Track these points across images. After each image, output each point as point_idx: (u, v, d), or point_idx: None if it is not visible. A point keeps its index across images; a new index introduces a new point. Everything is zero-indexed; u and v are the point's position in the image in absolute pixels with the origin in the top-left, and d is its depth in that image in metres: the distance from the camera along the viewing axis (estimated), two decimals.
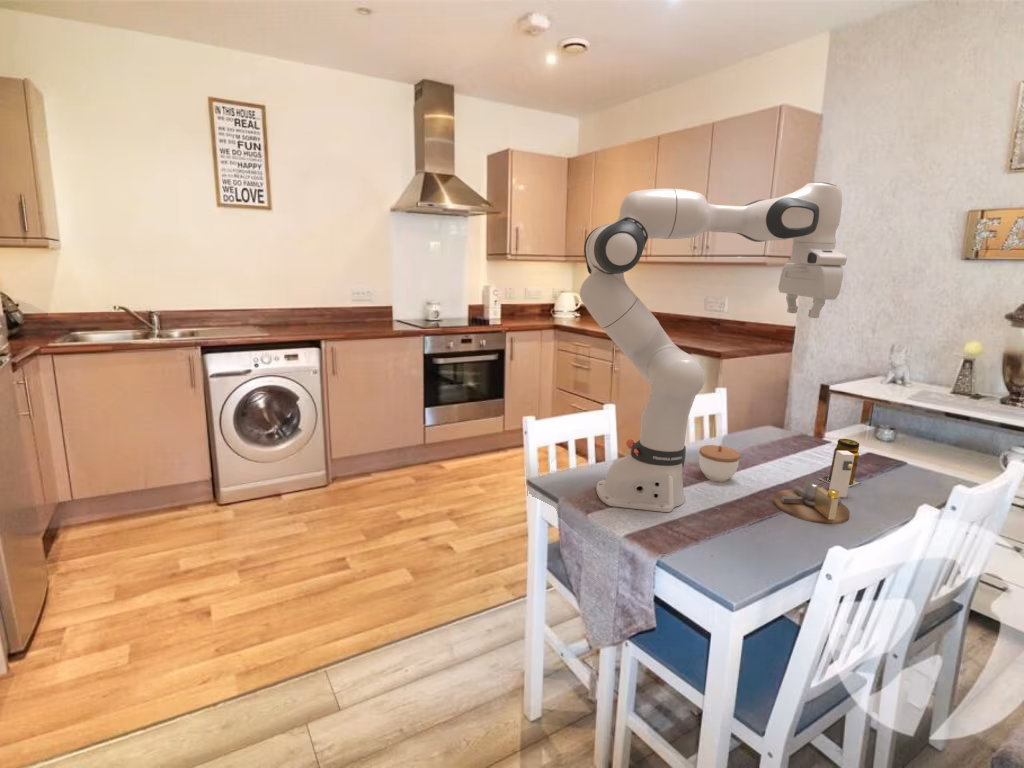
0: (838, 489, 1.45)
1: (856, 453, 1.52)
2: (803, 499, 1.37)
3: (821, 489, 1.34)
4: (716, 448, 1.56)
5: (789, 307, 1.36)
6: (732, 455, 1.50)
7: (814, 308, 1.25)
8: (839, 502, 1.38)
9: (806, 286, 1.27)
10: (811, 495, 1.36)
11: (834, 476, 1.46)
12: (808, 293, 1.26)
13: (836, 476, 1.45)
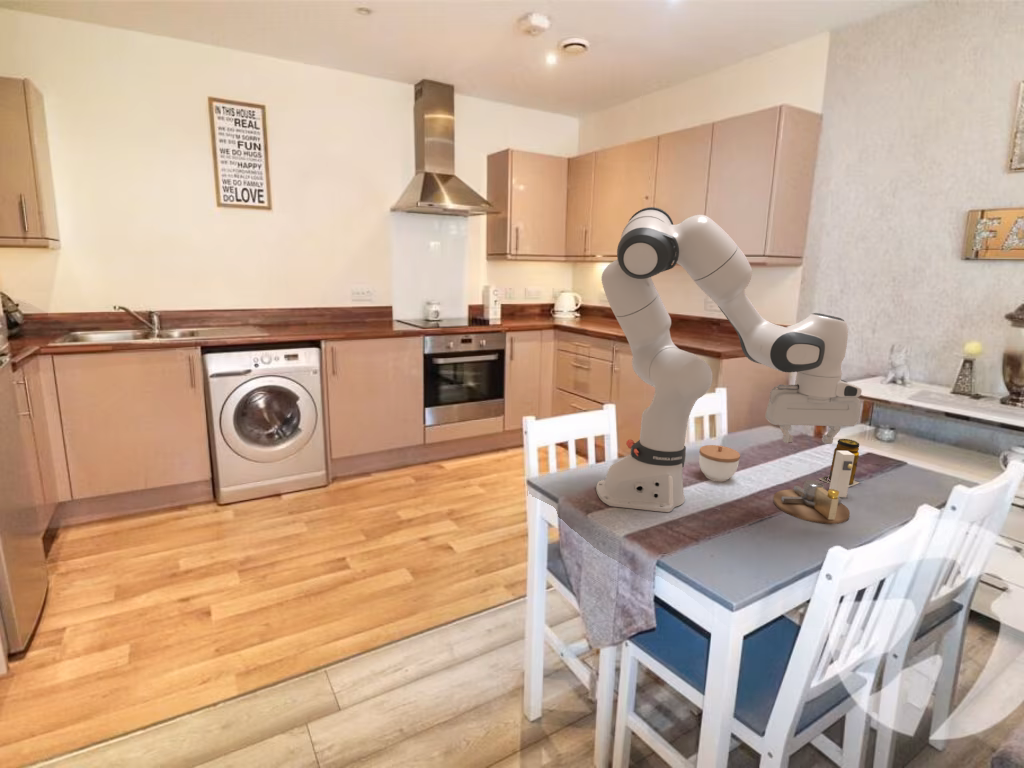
0: (838, 489, 1.45)
1: (856, 453, 1.52)
2: (803, 499, 1.37)
3: (821, 489, 1.34)
4: (716, 448, 1.56)
5: (790, 438, 1.27)
6: (732, 455, 1.50)
7: None
8: (839, 502, 1.38)
9: (828, 416, 1.25)
10: (811, 495, 1.36)
11: (834, 476, 1.46)
12: (833, 423, 1.25)
13: (836, 476, 1.45)
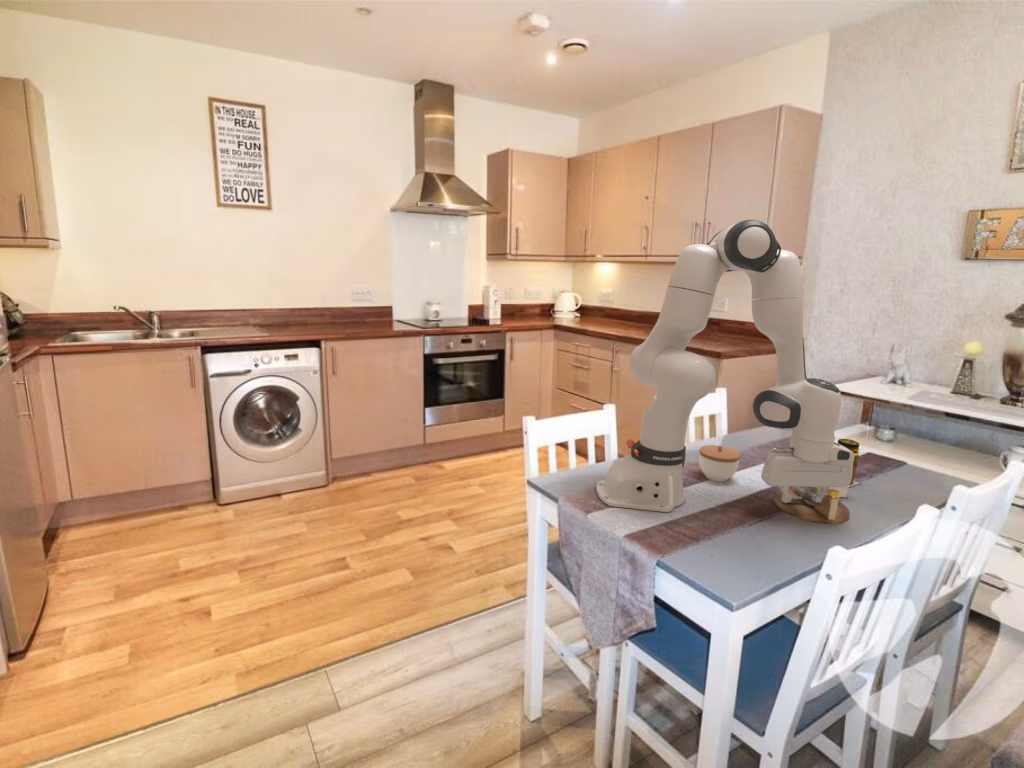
0: (838, 489, 1.45)
1: (856, 453, 1.52)
2: (803, 499, 1.37)
3: None
4: (716, 448, 1.56)
5: (789, 498, 1.31)
6: (732, 455, 1.50)
7: None
8: (839, 502, 1.38)
9: (821, 478, 1.29)
10: (811, 495, 1.36)
11: None
12: (826, 484, 1.29)
13: None
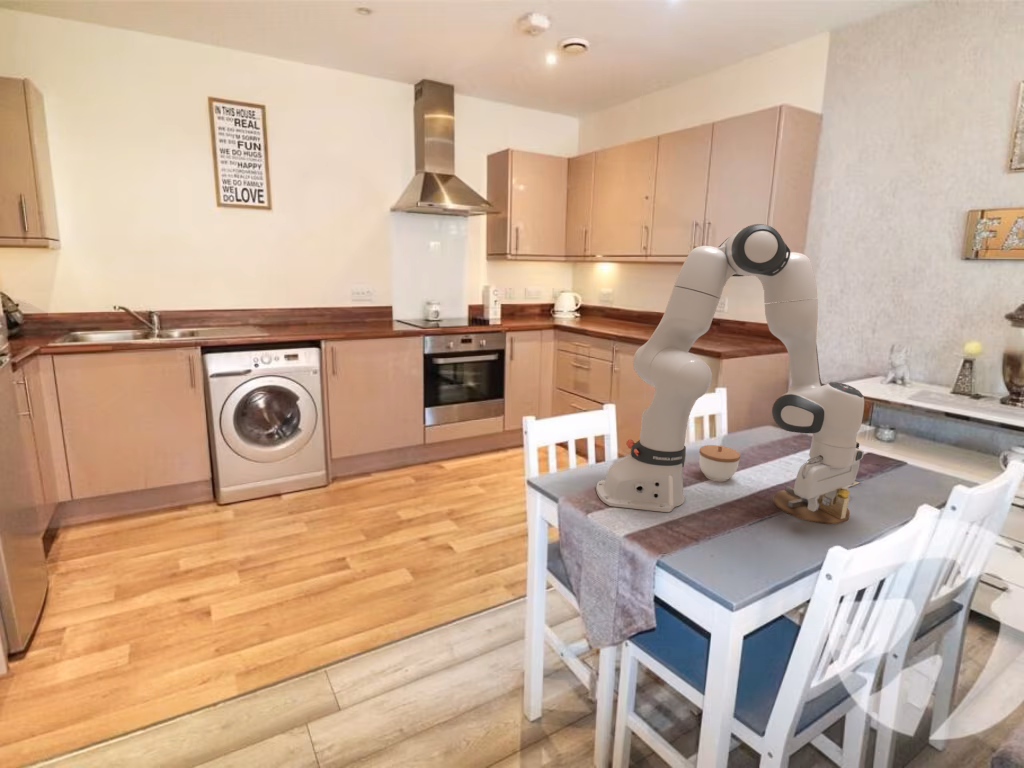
0: None
1: None
2: (806, 501, 1.37)
3: None
4: (716, 448, 1.56)
5: (817, 506, 1.28)
6: (732, 455, 1.50)
7: None
8: None
9: (839, 480, 1.28)
10: None
11: None
12: (841, 485, 1.30)
13: None
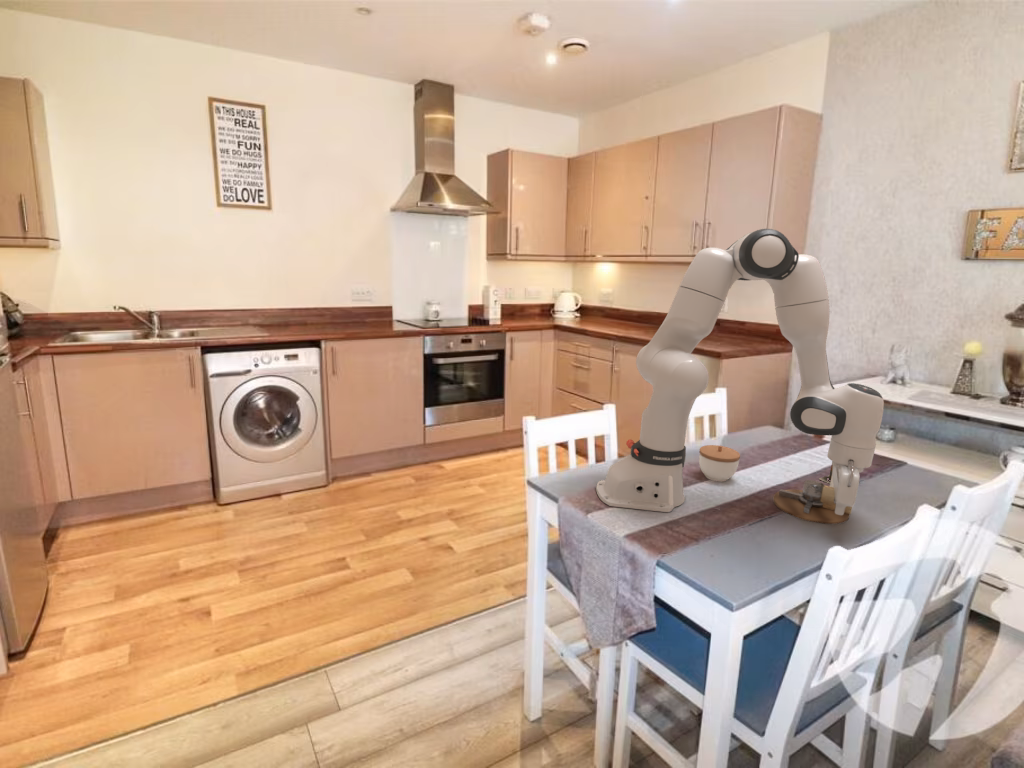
0: None
1: None
2: (812, 502, 1.36)
3: (829, 487, 1.35)
4: (716, 448, 1.56)
5: None
6: (732, 455, 1.50)
7: None
8: None
9: None
10: (819, 496, 1.36)
11: None
12: None
13: None
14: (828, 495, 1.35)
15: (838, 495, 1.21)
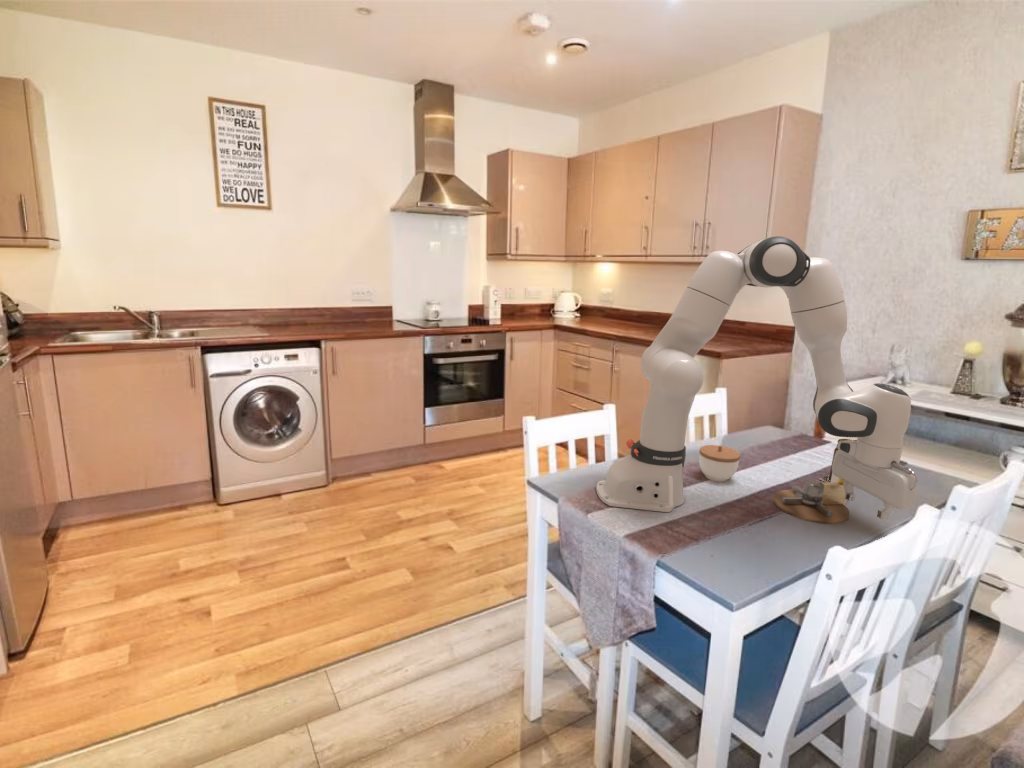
0: None
1: None
2: None
3: (827, 484, 1.37)
4: (716, 448, 1.56)
5: None
6: (732, 455, 1.50)
7: None
8: None
9: None
10: (822, 495, 1.36)
11: (834, 476, 1.46)
12: None
13: (836, 476, 1.45)
14: (828, 491, 1.37)
15: (903, 501, 1.18)
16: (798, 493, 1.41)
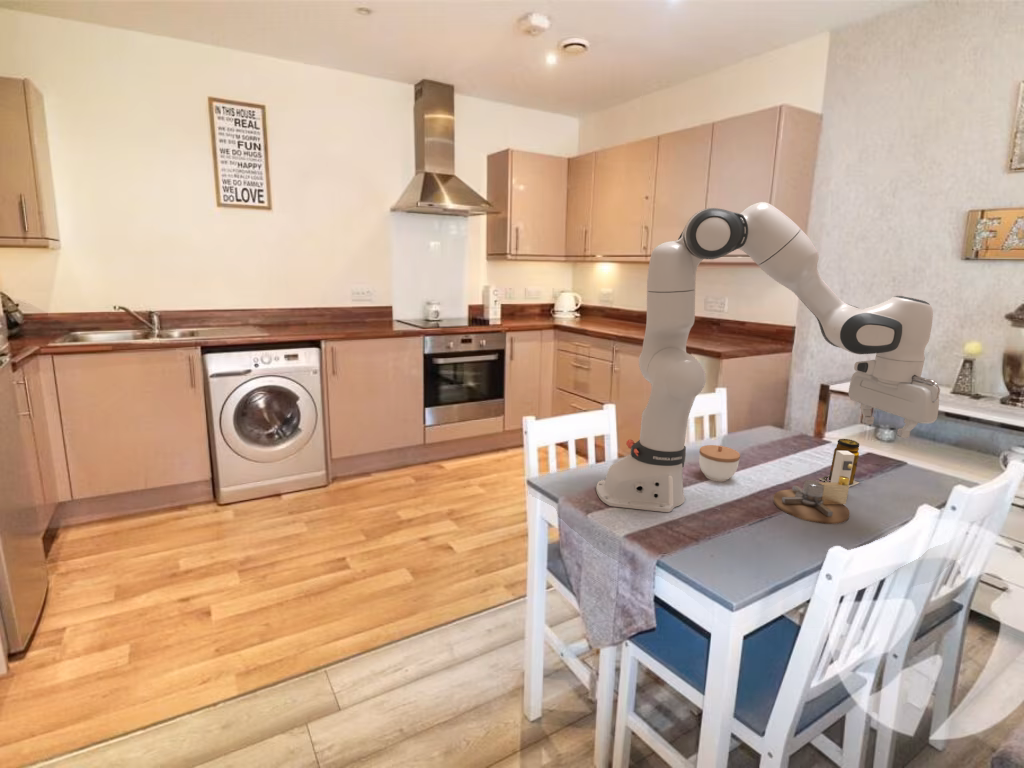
0: None
1: (856, 453, 1.52)
2: None
3: (827, 484, 1.37)
4: (716, 448, 1.56)
5: None
6: (732, 455, 1.50)
7: None
8: None
9: None
10: (822, 495, 1.36)
11: (834, 476, 1.46)
12: None
13: (836, 476, 1.45)
14: (828, 491, 1.37)
15: (925, 414, 1.13)
16: (798, 493, 1.41)
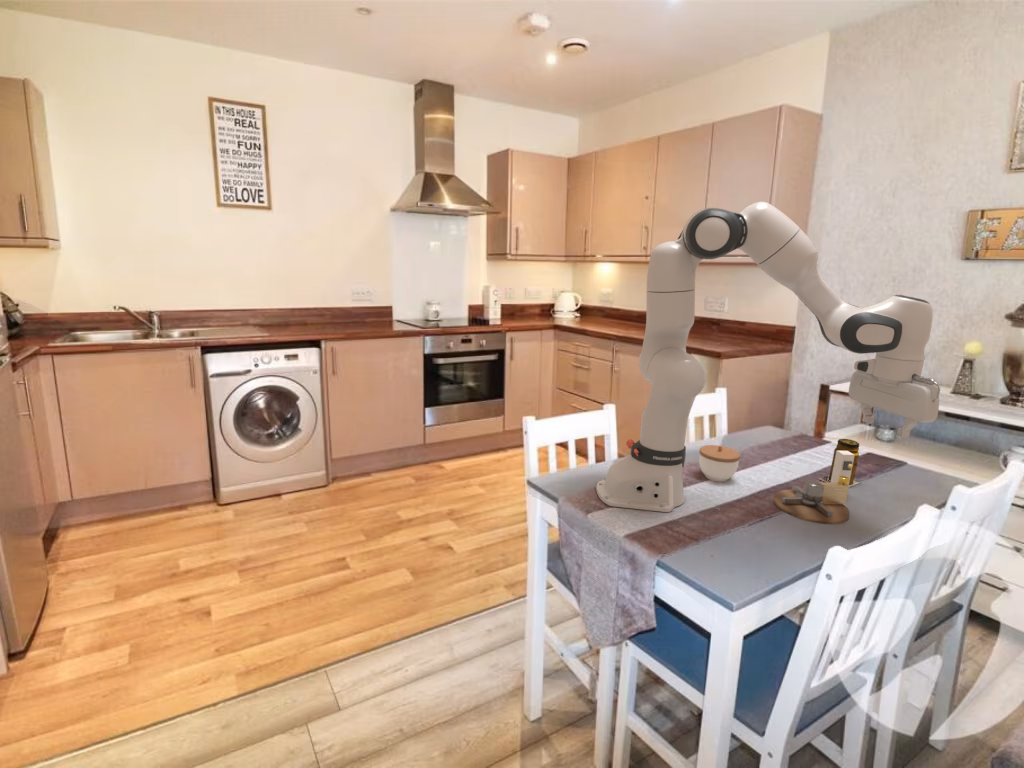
0: None
1: (856, 453, 1.52)
2: None
3: (827, 484, 1.37)
4: (716, 448, 1.56)
5: None
6: (732, 455, 1.50)
7: None
8: None
9: None
10: (822, 495, 1.36)
11: (834, 476, 1.46)
12: None
13: (836, 476, 1.45)
14: (828, 491, 1.37)
15: (925, 413, 1.13)
16: (798, 493, 1.41)
